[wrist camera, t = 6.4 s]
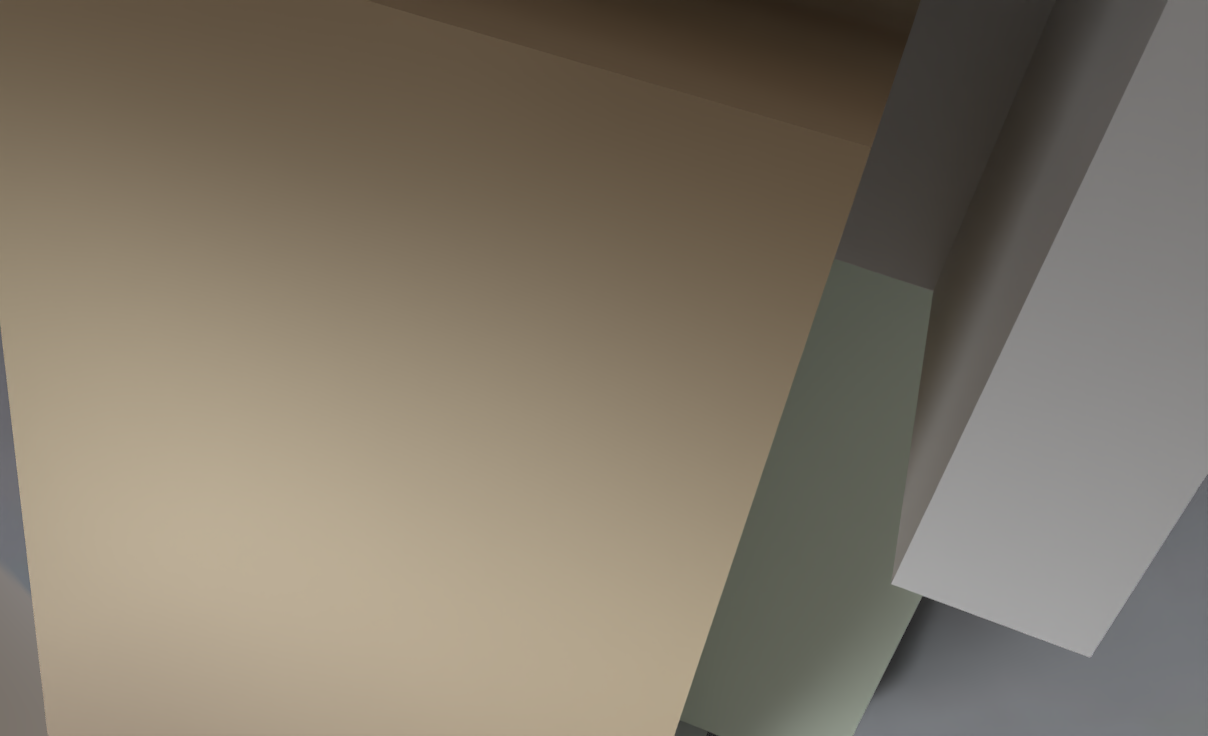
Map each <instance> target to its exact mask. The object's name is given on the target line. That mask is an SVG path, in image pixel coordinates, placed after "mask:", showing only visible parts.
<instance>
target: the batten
mask: <svg viewBox="0 0 1208 736" xmlns="http://www.w3.org/2000/svg"><path fill="white" fill-rule="evenodd" d="M920 1H921V0H0V326H1V334H2V343H3V352H4V360H5V369H6V378H7V386H8V395H9V404H10V412H11V421H12V429H13V438H14V447H15V455H16V464H17V473H18V481H19V490H20V499H21V507H22V516H23V525H24V533H25V542H26V551H27V559H28V568H29V577H30V585H31V594H32V603H33V611H34V619H35V629H36V637H37V646H38V655H39V663H40V672H41V681H42V689H43V698H44V707H45V715H46V724H47V733H48V736H674V735H675V732H676V729H677V726H678V723H679V720H680V717H681V714H682V711H683V708H684V705H685V702H686V699H687V696H688V693H689V690H690V687H691V684H692V681H693V678H694V675H695V672H696V669H697V666H698V663H699V660H700V657H701V654H702V651H703V648H704V645H705V642H706V639H707V636H708V633H709V630H710V627H711V624H712V621H713V618H714V615H715V613H716V610H717V607H718V604H719V601H720V598H721V595H722V592H723V589H724V586H725V583H726V580H727V577H728V574H729V571H730V568H731V565H732V562H733V559H734V556H735V553H736V550H737V547H738V544H739V541H740V538H741V535H742V532H743V529H744V526H745V523H746V520H747V517H748V514H749V511H750V508H751V505H752V502H753V499H754V496H755V493H756V490H757V487H758V484H759V481H760V478H761V475H762V472H763V469H764V466H765V463H766V460H767V457H768V454H769V451H770V448H771V446H772V443H773V440H774V437H775V434H776V431H777V428H778V425H779V422H780V419H781V416H782V413H783V410H784V407H785V404H786V401H787V398H788V395H789V392H790V389H791V386H792V383H793V380H794V377H795V374H796V371H797V368H798V365H799V362H800V359H801V356H802V353H803V350H804V347H805V344H806V341H807V338H808V335H809V332H810V329H811V326H812V323H813V320H814V317H815V314H816V311H817V308H818V305H819V302H820V299H821V296H822V293H823V290H824V287H825V284H826V281H827V279H828V276H829V273H830V270H831V267H832V264H833V261H834V258H835V255H836V252H837V249H838V246H839V243H840V240H841V237H842V234H843V231H844V228H845V225H846V222H847V219H848V216H849V213H850V210H851V207H852V204H853V201H854V198H855V195H856V192H857V189H858V186H859V183H860V180H861V177H862V174H863V171H864V168H865V165H866V162H867V159H868V156H869V153H870V150H871V147H872V144H873V141H874V138H875V135H876V132H877V129H878V126H879V123H880V120H881V117H882V114H883V111H884V108H885V105H886V102H887V99H888V96H889V94H890V91H891V88H892V85H893V82H894V79H895V76H896V73H897V70H898V67H899V64H900V61H901V58H902V55H903V52H904V49H905V46H906V43H907V40H908V37H909V34H910V31H911V28H912V25H913V22H914V19H915V16H916V13H917V10H918V7H919V4H920Z"/></svg>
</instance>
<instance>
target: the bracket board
mask: <svg viewBox="0 0 1208 736" xmlns="http://www.w3.org/2000/svg"><path fill="white" fill-rule="evenodd" d="M1207 474H1208V0H921V1H920V4H919V7H918V10H917V13H916V16H915V19H914V22H913V25H912V28H911V31H910V34H909V37H908V40H907V43H906V46H905V49H904V52H903V55H902V58H901V61H900V64H899V67H898V70H897V73H896V76H895V79H894V82H893V85H892V88H891V91H890V94H889V96H888V99H887V102H886V105H885V108H884V111H883V114H882V117H881V120H880V123H879V126H878V129H877V132H876V135H875V138H874V141H873V144H872V147H871V150H870V153H869V156H868V159H867V162H866V165H865V168H864V171H863V174H862V177H861V180H860V183H859V186H858V189H857V192H856V195H855V198H854V201H853V204H852V207H851V210H850V213H849V216H848V219H847V222H846V225H845V228H844V231H843V234H842V237H841V240H840V243H839V246H838V249H837V252H836V255H835V258H834V261H833V264H832V267H831V270H830V273H829V276H828V279H827V281H826V284H825V287H824V290H823V293H822V296H821V299H820V302H819V305H818V308H817V311H816V314H815V317H814V320H813V323H812V326H811V329H810V332H809V335H808V338H807V341H806V344H805V347H804V350H803V353H802V356H801V359H800V362H799V365H798V368H797V371H796V374H795V377H794V380H793V383H792V386H791V389H790V392H789V395H788V398H787V401H786V404H785V407H784V410H783V413H782V416H781V419H780V422H779V425H778V428H777V431H776V434H775V437H774V440H773V443H772V446H771V448H770V451H769V454H768V457H767V460H766V463H765V466H764V469H763V472H762V475H761V478H760V481H759V484H758V487H757V490H756V493H755V496H754V499H753V502H752V505H751V508H750V511H749V514H748V517H747V520H746V523H745V526H744V529H743V532H742V535H741V538H740V541H739V544H738V547H737V550H736V553H735V556H734V559H733V562H732V565H731V568H730V571H729V574H728V577H727V580H726V583H725V586H724V589H723V592H722V595H721V598H720V601H719V604H718V607H717V610H716V613H715V615H714V618H713V621H712V624H711V627H710V630H709V633H708V636H707V639H706V642H705V645H704V648H703V651H702V654H701V657H700V660H699V663H698V666H697V669H696V672H695V675H694V678H693V681H692V684H691V687H690V690H689V693H688V696H687V699H686V702H685V705H684V708H683V711H682V714H681V717H680V720H679V723H678V726H677V729H676V732H675V735H674V736H706V735H707V732H711V733H713V734H716V735H718V736H853V734H854V732H855V730H856V728H857V726H858V724H859V722H860V720H861V718H862V716H863V714H864V712H865V710H866V708H867V706H868V704H869V702H870V700H871V698H872V696H873V694H874V692H875V690H876V688H877V686H878V684H879V682H880V680H881V678H882V676H883V674H884V672H885V670H886V668H887V666H888V664H889V662H890V660H891V658H892V656H893V654H894V652H895V650H896V648H897V646H898V644H899V642H900V640H901V638H902V636H903V634H904V632H905V630H906V628H907V626H908V624H909V622H910V620H911V618H912V616H913V614H914V612H915V610H916V608H917V606H918V604H919V602H920V600H921V598H922V596H925V597H928V598H930V599H933V600H936V601H938V602H941V603H944V604H946V605H949V606H952V607H955V608H957V609H960V610H963V611H965V612H968V613H971V614H974V615H976V616H979V617H982V618H984V619H987V620H990V621H992V622H995V623H998V624H1001V625H1003V626H1006V627H1009V628H1011V629H1014V630H1017V631H1020V632H1022V633H1025V634H1028V635H1030V636H1033V637H1036V638H1039V639H1041V640H1044V641H1047V642H1049V643H1052V644H1055V645H1057V646H1060V647H1063V648H1066V649H1068V650H1071V651H1074V652H1076V653H1079V654H1082V655H1085V656H1087V657H1091V656H1092V654H1093V653H1094V651H1095V650H1096V648H1097V646H1098V645H1099V643H1100V642H1101V640H1102V639H1103V637H1104V635H1105V634H1106V632H1107V631H1108V629H1109V628H1110V626H1111V624H1112V623H1113V621H1114V620H1115V618H1116V617H1117V615H1118V613H1119V612H1120V610H1121V609H1122V607H1123V606H1124V604H1125V602H1126V601H1127V599H1128V598H1129V596H1130V595H1131V593H1132V592H1133V590H1134V588H1135V587H1136V585H1137V584H1138V582H1139V581H1140V579H1141V577H1142V576H1143V574H1144V573H1145V571H1146V570H1147V568H1148V566H1149V565H1150V563H1151V562H1152V560H1153V559H1154V557H1155V555H1156V554H1157V552H1158V551H1159V549H1160V548H1161V546H1162V544H1163V543H1164V541H1165V540H1166V538H1167V537H1168V535H1169V533H1170V532H1171V530H1172V529H1173V527H1174V526H1175V524H1176V522H1177V521H1178V519H1179V518H1180V516H1181V515H1182V513H1183V511H1184V510H1185V508H1186V507H1187V505H1188V504H1189V502H1190V500H1191V499H1192V497H1193V496H1194V494H1195V493H1196V491H1197V489H1198V488H1199V486H1200V485H1201V483H1202V482H1203V480H1204V478H1205V477H1206V475H1207Z"/></svg>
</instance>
